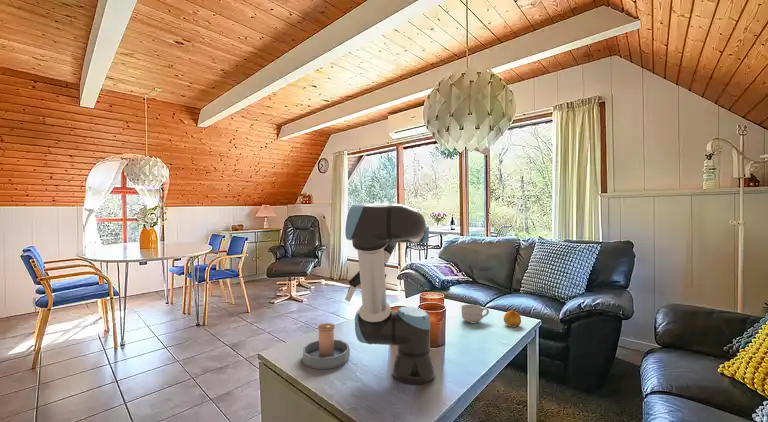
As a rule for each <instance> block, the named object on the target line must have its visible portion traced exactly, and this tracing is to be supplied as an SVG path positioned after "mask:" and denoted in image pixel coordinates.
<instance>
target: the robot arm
mask: <svg viewBox="0 0 768 422" xmlns="http://www.w3.org/2000/svg"><path fill="white" fill-rule="evenodd" d="M344 231H345V239H346V240H348V241H351V243H352V247H353V249H355V250H356V251H357V257H358V258H357V259H358V272H356V274H354V275H353V276H352V278H351V279H350V280H349V281H348V284H349V288H348V289H347V293H346V296H345V297H344V300H345V301H347V302H349V303H350V302H351V300H352V297H353V296H354V293H355V292H356V290H357V287H358V286H359V285H360V292H361V303H362V305H361V306H360V307H359V308H358V310H356V313H355V316H354V332H355V336H356V339H357V341H358V342H359V343H362V344H367V345H383V346H387V345H388V346H397V352H396V356H395V358H394V363H393V364H392V376H393V378H394V379H395V380H397V381H399V382H400V383H403V384H408V385H424V384H428V383H430V382H431V381H432V379H433V380H434V378H435V374H436V373H435V366H434V365H433V361H432V357H431V349H430V348H431V342H430V341H431V331H430V330H431V321H430V319H431V318H430V315H429V314H428V312H427V311H425V310H423V309H421V308H418V307H414V306H401V307H399V308H398V310H397V311H395V310H394V311H392V308H391V306H390V304H389V303H388V302H387V290H386V289H387V287H386V278H387V274H386V271H385V270H386V269H385V268H386V266H387V264H388V263H389V261H390V258H391V257H392V254H393V252H394V250H395V248H396V247H397V246H396V245H397V244H398V243H401V244H403V243H405V244H407V243H408V244H409V243H411V244H412V243H413V244H427V243H429V241H430V227H429V225H427V223H426V220H425V217H424V215H423V214H422V213H421V212H419V211H418V210H417V209H414V208H413V207H410V206H407V205H406V204H405V205H404V204H401V203H366V202H364V203H355V204H352V205H351V206H350V207H349V209H348V212H347V216H346V221H345V230H344Z"/></svg>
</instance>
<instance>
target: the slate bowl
mask: <svg viewBox="0 0 768 422" xmlns="http://www.w3.org/2000/svg"><path fill="white" fill-rule="evenodd" d="M350 350H351V348H350V345H349V343H347V342H345V341H344V340H341V339H335V338H334V357H324V358H321V357H319V339H317V340H314V341H312V342H309V343H307V344H306V345H304V346H303V347H302V362H303V364H304V366H306V367H308V368H310V369H315V370H332V369H336V368H339V367H341V366H343V365H345V364H347V362H348V361H349V359H350V355H351V351H350Z"/></svg>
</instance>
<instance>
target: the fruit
mask: <svg viewBox="0 0 768 422" xmlns="http://www.w3.org/2000/svg"><path fill="white" fill-rule="evenodd" d="M503 321H504V324H505V325H506V324H507V326H508V325H510V326H517V327H518V325H519V326H520V325H521V323H522V318H521V315H520V313H518V312H516V310H514V309H511V310H509V311H506V313H504V316H503ZM510 326H509V327H510Z"/></svg>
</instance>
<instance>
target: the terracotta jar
mask: <svg viewBox="0 0 768 422" xmlns="http://www.w3.org/2000/svg"><path fill="white" fill-rule="evenodd" d="M335 325H336V324H334V323H331V322H330V323H329V322H325V323H319V324H318V326H317V330H318V340H319V357H321V358H324V357H334V339H335V328H336V326H335Z"/></svg>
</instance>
